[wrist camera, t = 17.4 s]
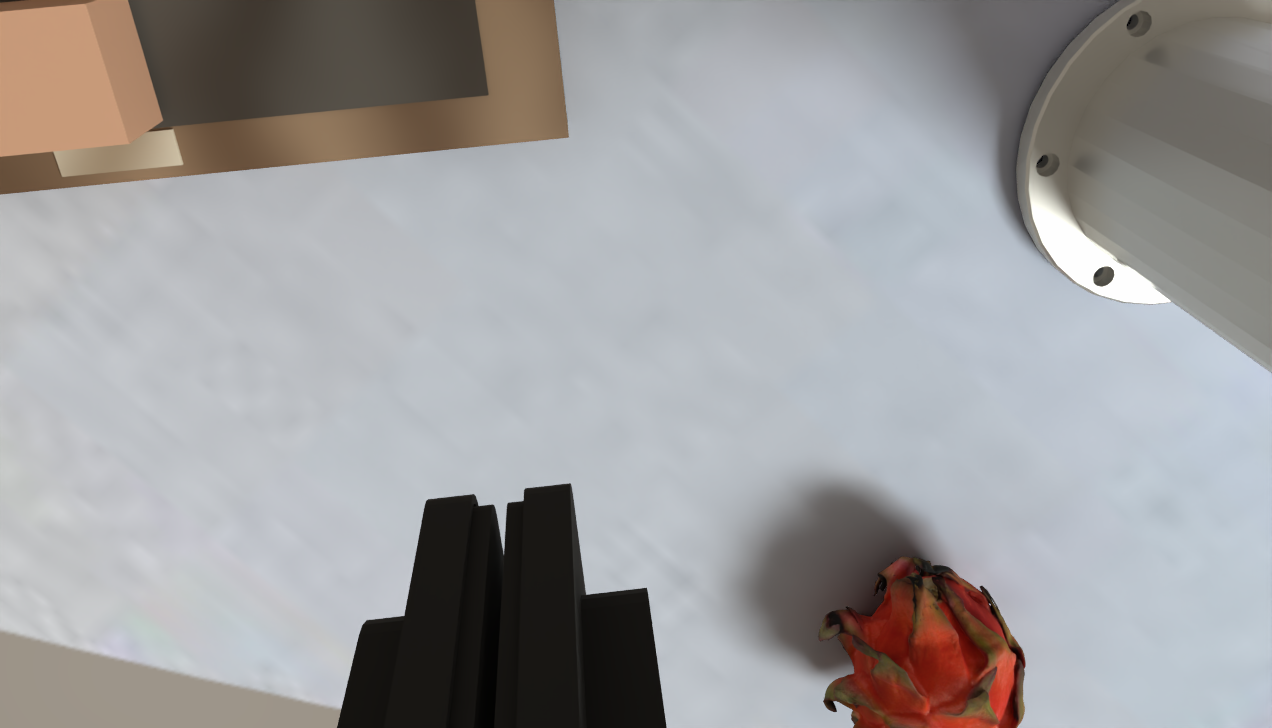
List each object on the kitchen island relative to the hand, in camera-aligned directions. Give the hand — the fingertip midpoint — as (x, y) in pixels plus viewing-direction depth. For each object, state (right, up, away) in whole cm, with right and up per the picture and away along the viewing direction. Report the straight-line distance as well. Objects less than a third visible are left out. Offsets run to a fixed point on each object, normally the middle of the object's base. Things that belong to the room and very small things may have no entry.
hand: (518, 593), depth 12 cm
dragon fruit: (+14, -9, +37) cm, 40 cm away
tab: (-16, +12, +20) cm, 29 cm away
